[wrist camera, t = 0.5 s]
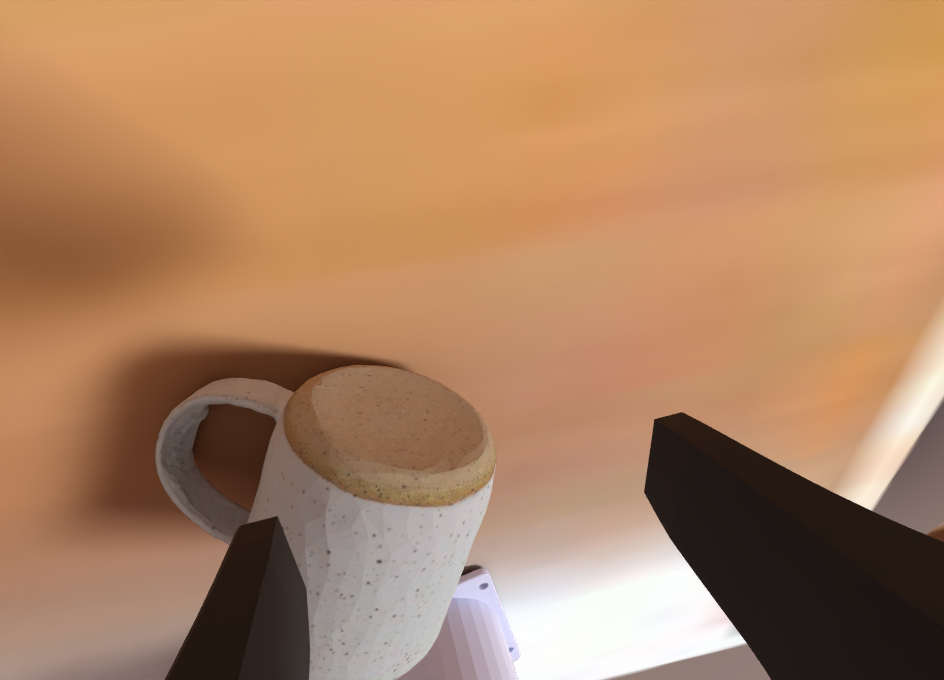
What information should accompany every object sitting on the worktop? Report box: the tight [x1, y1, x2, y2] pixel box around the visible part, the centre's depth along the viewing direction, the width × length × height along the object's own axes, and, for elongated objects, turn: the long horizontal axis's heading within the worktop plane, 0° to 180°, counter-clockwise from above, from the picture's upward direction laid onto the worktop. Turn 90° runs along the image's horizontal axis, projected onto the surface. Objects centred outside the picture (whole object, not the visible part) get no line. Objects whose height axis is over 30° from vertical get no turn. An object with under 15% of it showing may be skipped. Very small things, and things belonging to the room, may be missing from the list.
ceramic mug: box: [155, 365, 496, 680], centre depth 17 cm, size 11×8×8 cm
